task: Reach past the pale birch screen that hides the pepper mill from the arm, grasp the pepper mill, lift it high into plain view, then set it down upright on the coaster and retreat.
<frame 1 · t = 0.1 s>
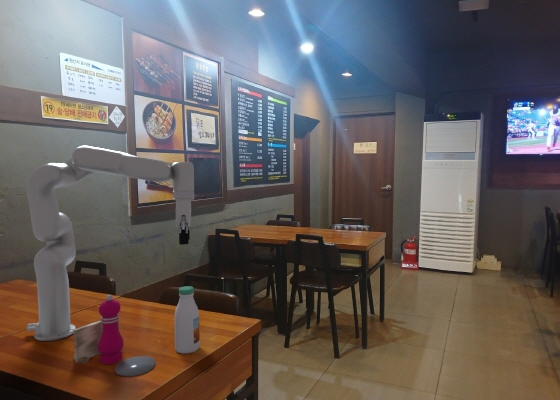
hand: (184, 241, 143), 31 cm above the table, fingers open, 9 cm apart
coaster: (135, 366, 113), on the table
pepper mill: (111, 360, 117), on the table
screen: (98, 353, 121), on the table
milk bottle: (187, 349, 124), on the table
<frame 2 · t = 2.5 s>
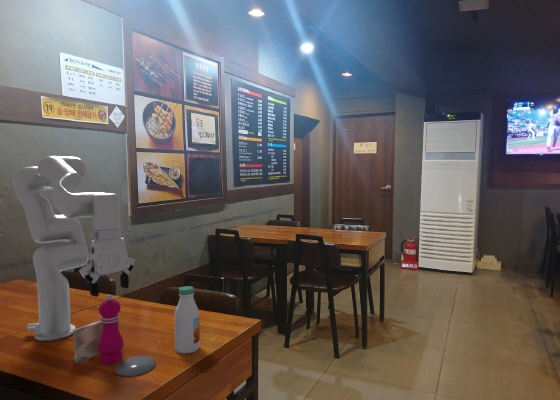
hand: (110, 291, 116), 21 cm above the table, fingers open, 9 cm apart
nothing on the table moved.
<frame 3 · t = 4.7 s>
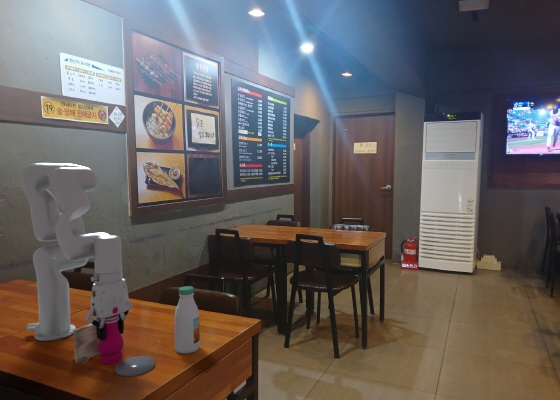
hand: (110, 335, 117), 7 cm above the table, fingers closed on pepper mill, 5 cm apart
pepper mill: (111, 360, 117), on the table, touching gripper
everything else where it was.
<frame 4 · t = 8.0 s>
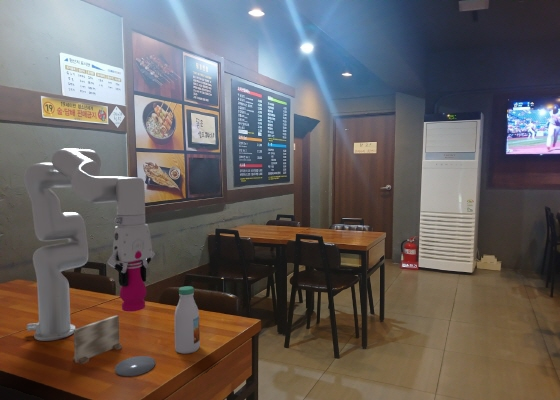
hand: (133, 282, 111), 25 cm above the table, fingers closed on pepper mill, 5 cm apart
pepper mill: (133, 308, 112), point 17 cm above the table, touching gripper
everything else where it was.
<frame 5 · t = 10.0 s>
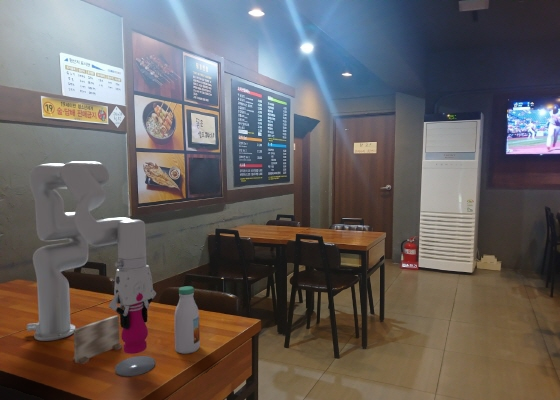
hand: (134, 324, 112), 13 cm above the table, fingers closed on pepper mill, 5 cm apart
pepper mill: (135, 349, 113), point 5 cm above the table, touching gripper
everything else where it was.
when the fingers open (9 cm above the table, at t = 11.7 s): pepper mill stays where it is, resting on coaster.
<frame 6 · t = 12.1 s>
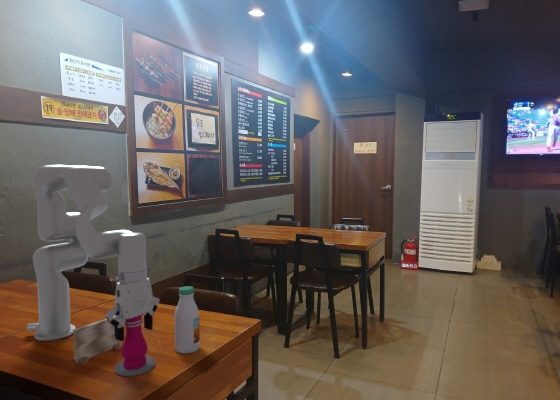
hand: (134, 334, 112), 10 cm above the table, fingers open, 9 cm apart
pepper mill: (135, 365, 113), resting on coaster
everything else where it was.
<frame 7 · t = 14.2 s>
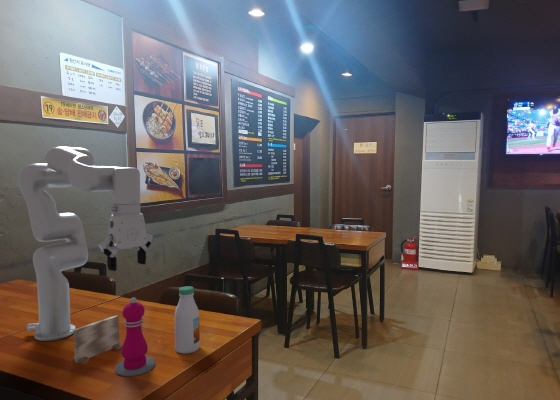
hand: (127, 266, 115), 29 cm above the table, fingers open, 9 cm apart
nothing on the table moved.
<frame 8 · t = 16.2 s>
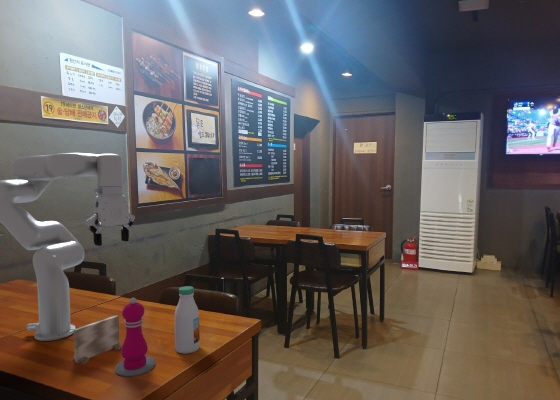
hand: (112, 243, 129), 33 cm above the table, fingers open, 9 cm apart
nothing on the table moved.
at the end: pepper mill 0.2 cm from the coaster (horizontally); pepper mill tilted 1°; the gripper is holding nothing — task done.
